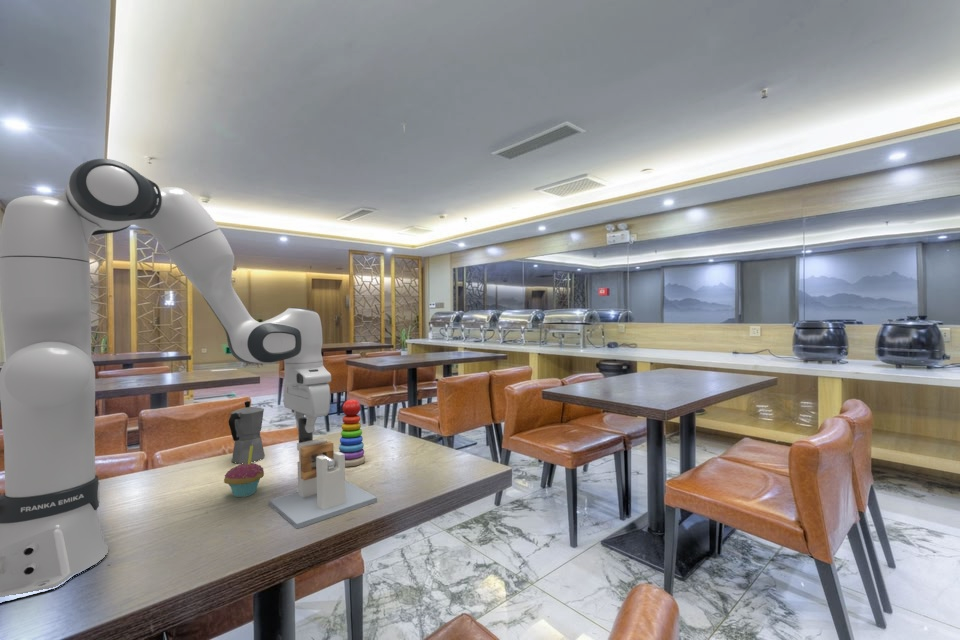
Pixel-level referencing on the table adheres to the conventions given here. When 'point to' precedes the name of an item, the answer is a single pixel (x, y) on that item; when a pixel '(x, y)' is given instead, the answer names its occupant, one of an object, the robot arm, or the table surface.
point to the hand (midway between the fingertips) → (305, 430)
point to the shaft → (307, 436)
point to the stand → (321, 493)
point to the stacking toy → (352, 435)
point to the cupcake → (244, 477)
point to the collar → (305, 455)
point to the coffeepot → (246, 433)
